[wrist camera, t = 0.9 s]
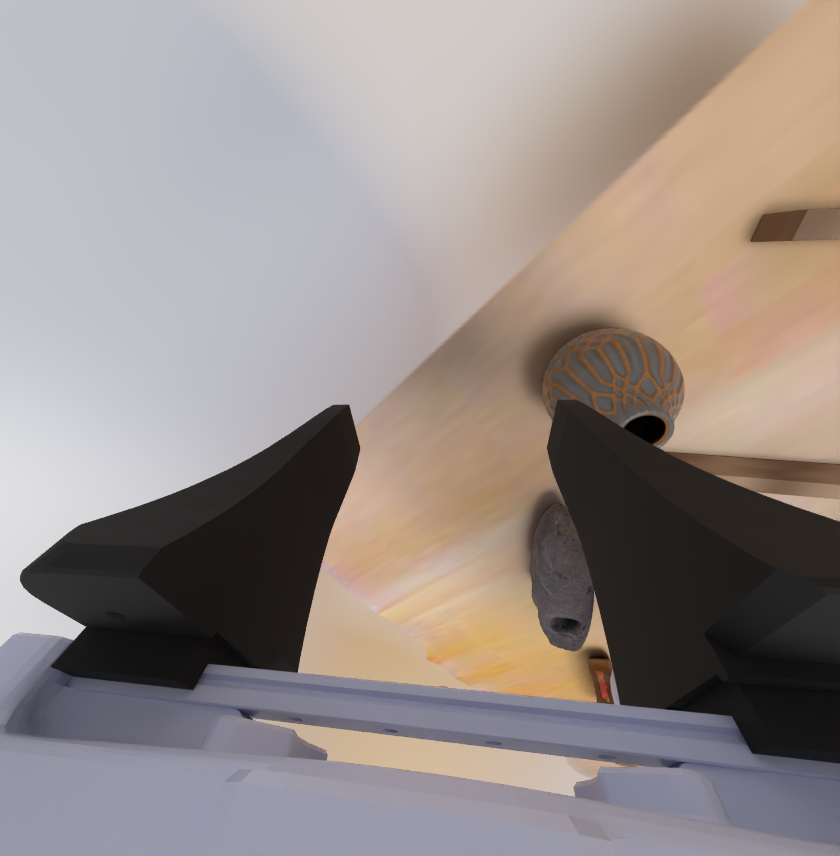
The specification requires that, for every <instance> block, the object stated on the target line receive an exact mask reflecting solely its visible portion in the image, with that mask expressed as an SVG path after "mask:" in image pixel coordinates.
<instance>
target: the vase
mask: <svg viewBox="0 0 840 856" xmlns="http://www.w3.org/2000/svg"><path fill="white" fill-rule="evenodd" d="M542 393H543V399H544V403H545V406H546V409H547V412H548V414H549V416H550V418H551V419H552V421H553V417H554V413H555V408H556V403H557V400H579V401H581V402H582V403H584V404H586V405H588V406H589V407H591V408H592V409H594V410H596V411H597V412H599V413H600V414H602V415H604V416H605V417H607V418H608V419H610V420H611V421H613V422H615V423H616V424H618V425H619V426H621V427H623V428H624V429H626V430H628V431H629V432H631V433H633V434H634V435H636V436H638V437H639V438H641V439H643V440H645V441H646V442H648V443H650V444H652V445H654V446H655V447H657V448H660V447H661V446H663V445H664V444H665V443H666V442H667V441H668V440H669V439H670V438H671V436H672V434H673V431H674V421H675V419H676V417H677V416H678V414H679V411H680V409H681V407H682V403H683V399H684V380H683V376H682V373H681V370H680V368H679V366H678V364H677V362H676V361H675V359H674V358H673V356H672V355H671V354H670V352H669V351H668V350H667V349H666V348H665V347H664V346H663V345H661V344H660V343H659V342H657V341H655V340H654V339H652V338H650V337H648V336H646V335H644V334H641V333H638V332H635V331H632V330H628V329H621V328H605V329H598V330H594V331H590V332H587V333H584V334H581V335H579V336H577V337H575V338H573V339H572V340H570V341H569V342H567V343H566V344H565V345H564V346H562V347H561V348H560V349H559V350H558V351H557V352H556V354H555V355H554V356H553V358H552V359H551V361H550V362H549V364H548V366H547V369H546V371H545V374H544V378H543V386H542Z"/></svg>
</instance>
